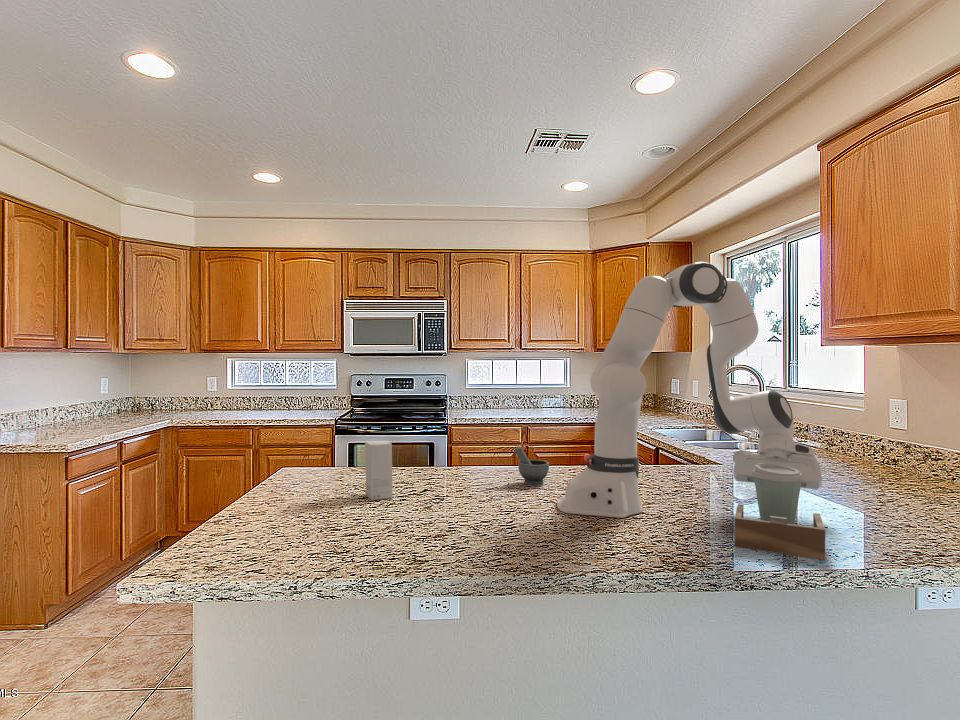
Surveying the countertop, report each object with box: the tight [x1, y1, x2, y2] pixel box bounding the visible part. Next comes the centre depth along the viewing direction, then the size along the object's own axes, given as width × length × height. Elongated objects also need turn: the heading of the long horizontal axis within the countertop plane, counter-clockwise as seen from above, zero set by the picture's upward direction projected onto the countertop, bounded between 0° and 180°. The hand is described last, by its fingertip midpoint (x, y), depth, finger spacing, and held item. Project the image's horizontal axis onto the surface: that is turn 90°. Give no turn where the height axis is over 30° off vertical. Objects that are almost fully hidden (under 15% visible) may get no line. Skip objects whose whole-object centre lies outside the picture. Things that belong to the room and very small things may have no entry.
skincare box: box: [364, 440, 394, 501], centre depth 157 cm, size 8×7×16 cm
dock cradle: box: [734, 503, 826, 561], centre depth 119 cm, size 13×16×7 cm
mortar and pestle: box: [514, 445, 550, 487], centre depth 174 cm, size 11×9×12 cm
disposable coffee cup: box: [752, 463, 803, 525], centre depth 128 cm, size 11×11×15 cm
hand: (776, 497), depth 138 cm, fingers closed
